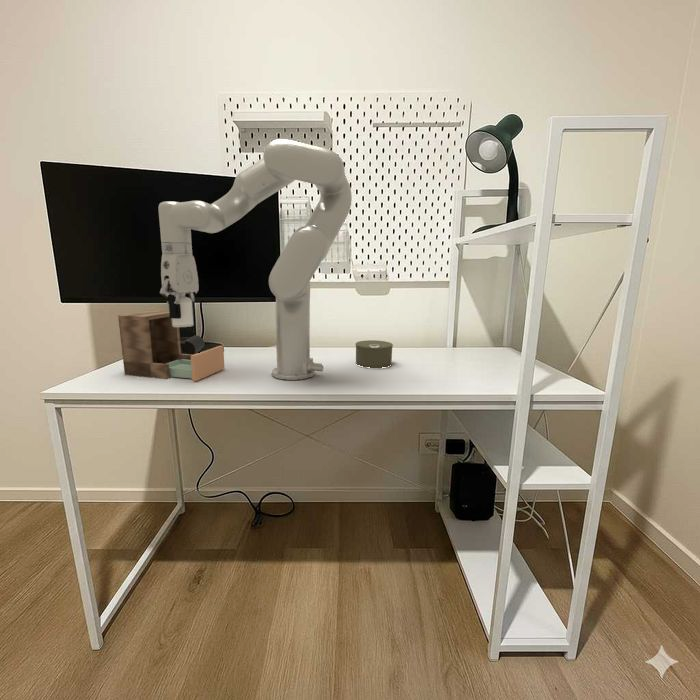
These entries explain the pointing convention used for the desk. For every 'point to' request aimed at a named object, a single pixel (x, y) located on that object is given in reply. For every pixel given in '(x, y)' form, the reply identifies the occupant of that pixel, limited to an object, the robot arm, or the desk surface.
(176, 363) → the drawer
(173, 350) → the cabinet
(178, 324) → the eye dropper bottle
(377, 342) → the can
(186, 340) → the end cap
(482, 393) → the desk surface
